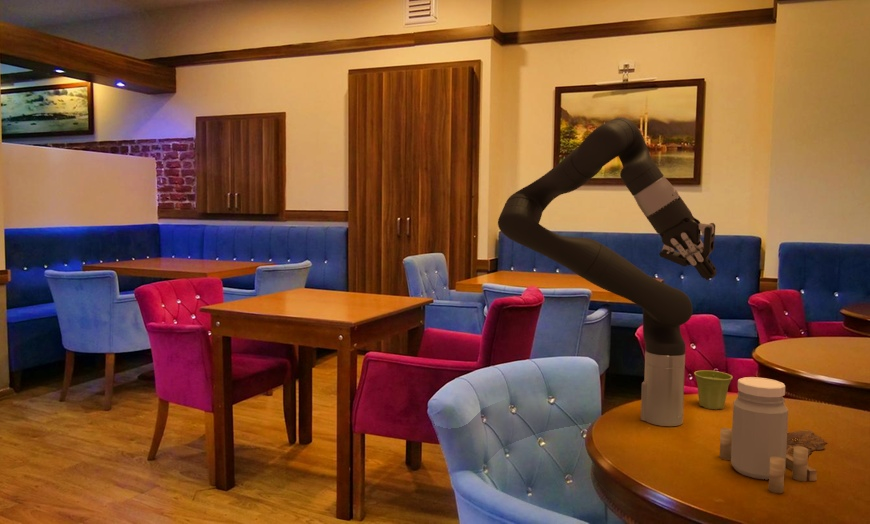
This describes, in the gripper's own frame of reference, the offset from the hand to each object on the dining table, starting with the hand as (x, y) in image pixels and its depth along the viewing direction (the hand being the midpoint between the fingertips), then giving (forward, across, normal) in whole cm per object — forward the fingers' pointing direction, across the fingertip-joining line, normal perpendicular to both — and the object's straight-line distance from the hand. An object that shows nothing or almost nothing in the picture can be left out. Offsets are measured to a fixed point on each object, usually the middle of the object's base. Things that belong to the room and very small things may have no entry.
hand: (712, 277), depth 126 cm
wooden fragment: (+44, -15, +13) cm, 49 cm away
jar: (+37, -12, -8) cm, 40 cm away
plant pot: (+37, -38, +28) cm, 60 cm away
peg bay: (+39, -10, -7) cm, 40 cm away
